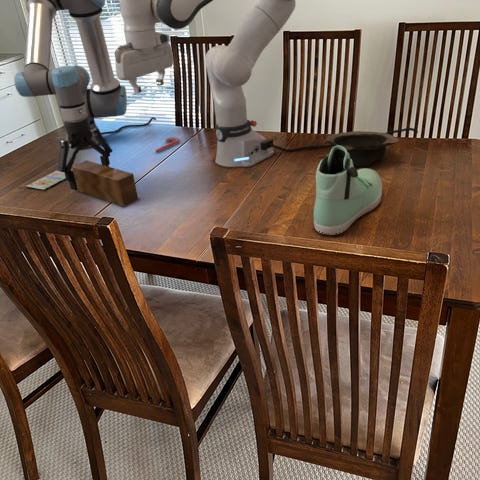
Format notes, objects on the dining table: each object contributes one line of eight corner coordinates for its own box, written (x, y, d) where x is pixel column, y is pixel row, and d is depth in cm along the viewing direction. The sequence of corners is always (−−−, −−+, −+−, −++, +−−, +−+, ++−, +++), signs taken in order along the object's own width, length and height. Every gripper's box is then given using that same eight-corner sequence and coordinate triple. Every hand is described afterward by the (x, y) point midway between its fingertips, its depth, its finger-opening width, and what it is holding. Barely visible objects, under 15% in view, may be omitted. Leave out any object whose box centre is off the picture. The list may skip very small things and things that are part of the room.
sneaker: (389, 187, 148) (396, 123, 138) (356, 242, 123) (361, 168, 112) (346, 181, 154) (350, 119, 144) (306, 232, 129) (307, 161, 118)
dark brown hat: (355, 177, 156) (355, 149, 151) (311, 159, 176) (310, 134, 172) (413, 158, 165) (414, 132, 160) (364, 143, 185) (364, 119, 180)
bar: (78, 191, 163) (71, 166, 158) (92, 184, 167) (86, 160, 162) (124, 207, 150) (118, 180, 145) (138, 199, 154) (133, 173, 149)
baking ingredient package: (25, 185, 168) (56, 169, 179) (25, 186, 168) (56, 171, 180) (43, 188, 164) (74, 172, 176) (44, 190, 165) (74, 173, 176)
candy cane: (146, 151, 191) (146, 147, 190) (171, 139, 201) (171, 135, 200) (157, 153, 188) (157, 150, 187) (182, 141, 198) (182, 137, 197)
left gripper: (48, 132, 139) (66, 198, 150) (114, 110, 156) (127, 170, 167) (33, 129, 143) (52, 193, 154) (100, 107, 160) (113, 166, 171)
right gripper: (121, 47, 130) (130, 98, 137) (173, 34, 143) (179, 82, 151) (106, 46, 133) (116, 96, 141) (158, 34, 147) (165, 80, 154)
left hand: (91, 181), depth 160 cm, fingers open, 13 cm apart
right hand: (149, 88), depth 146 cm, fingers open, 8 cm apart
